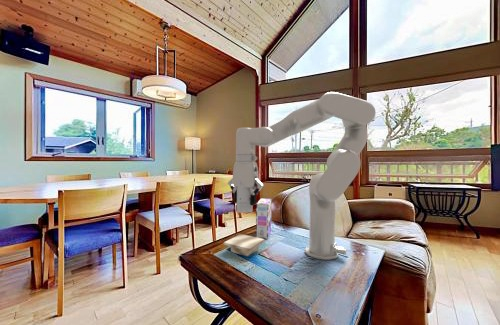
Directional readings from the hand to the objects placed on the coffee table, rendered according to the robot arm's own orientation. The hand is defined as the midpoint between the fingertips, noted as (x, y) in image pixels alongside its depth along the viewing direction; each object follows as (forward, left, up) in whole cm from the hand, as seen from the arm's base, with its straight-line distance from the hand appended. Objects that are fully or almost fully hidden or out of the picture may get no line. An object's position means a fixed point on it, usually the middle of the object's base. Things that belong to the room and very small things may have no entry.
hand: (244, 203), depth 96 cm
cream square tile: (0, 0, -19) cm, 19 cm away
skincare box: (0, 0, -4) cm, 4 cm away
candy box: (+3, -22, -19) cm, 30 cm away
